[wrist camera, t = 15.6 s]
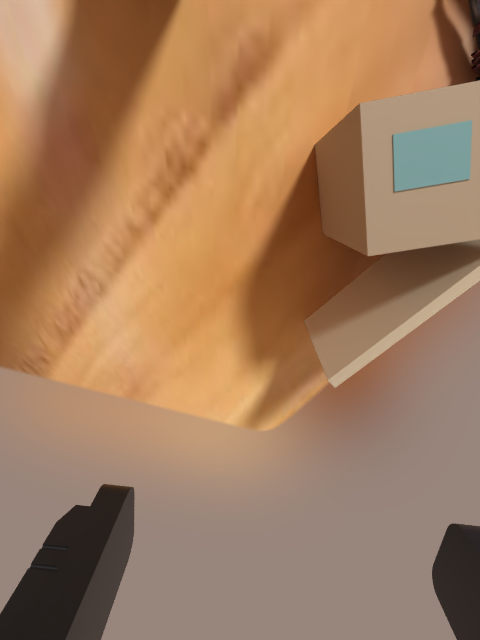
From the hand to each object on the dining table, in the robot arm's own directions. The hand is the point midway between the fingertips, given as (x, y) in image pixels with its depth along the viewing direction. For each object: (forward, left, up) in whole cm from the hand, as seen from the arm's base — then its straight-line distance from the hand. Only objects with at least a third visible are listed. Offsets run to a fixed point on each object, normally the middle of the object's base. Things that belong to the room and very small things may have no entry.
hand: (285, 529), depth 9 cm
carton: (+11, +11, -38) cm, 41 cm away
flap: (+13, 0, -37) cm, 39 cm away
